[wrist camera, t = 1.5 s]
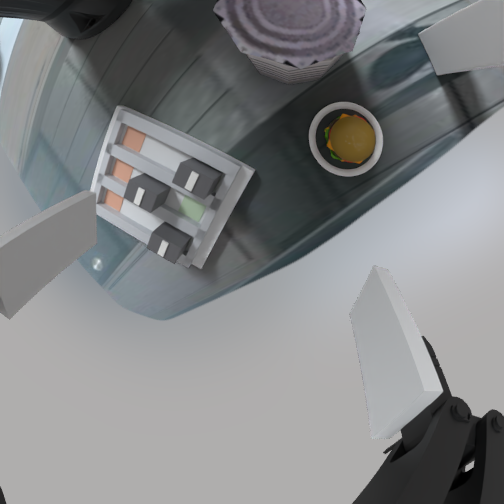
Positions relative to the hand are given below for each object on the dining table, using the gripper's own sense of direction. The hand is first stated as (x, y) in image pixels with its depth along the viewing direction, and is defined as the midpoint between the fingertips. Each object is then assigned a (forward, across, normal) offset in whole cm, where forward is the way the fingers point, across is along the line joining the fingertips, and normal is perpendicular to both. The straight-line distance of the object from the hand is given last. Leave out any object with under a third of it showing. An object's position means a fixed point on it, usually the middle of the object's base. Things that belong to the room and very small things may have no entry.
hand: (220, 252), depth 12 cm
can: (+22, -1, +16) cm, 28 cm away
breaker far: (+20, -9, -11) cm, 25 cm away
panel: (+22, -13, -5) cm, 26 cm away
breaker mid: (+20, -13, -5) cm, 25 cm away
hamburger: (+23, +8, +6) cm, 25 cm away
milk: (+22, +18, +23) cm, 37 cm away
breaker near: (+20, -7, -2) cm, 22 cm away
